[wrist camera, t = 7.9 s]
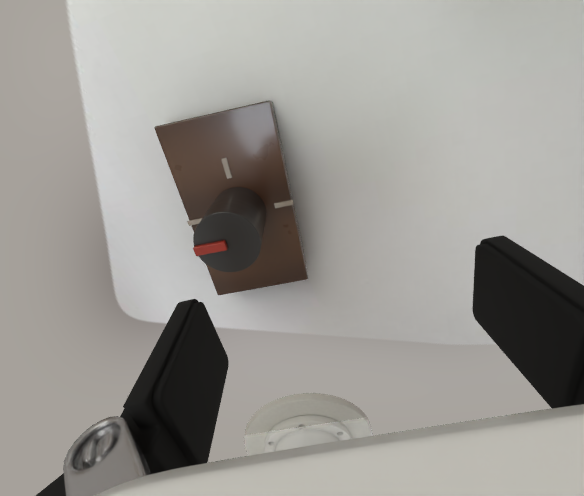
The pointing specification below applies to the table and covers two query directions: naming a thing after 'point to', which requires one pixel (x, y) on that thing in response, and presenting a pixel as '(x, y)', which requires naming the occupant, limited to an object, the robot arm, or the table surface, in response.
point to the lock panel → (238, 185)
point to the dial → (231, 230)
